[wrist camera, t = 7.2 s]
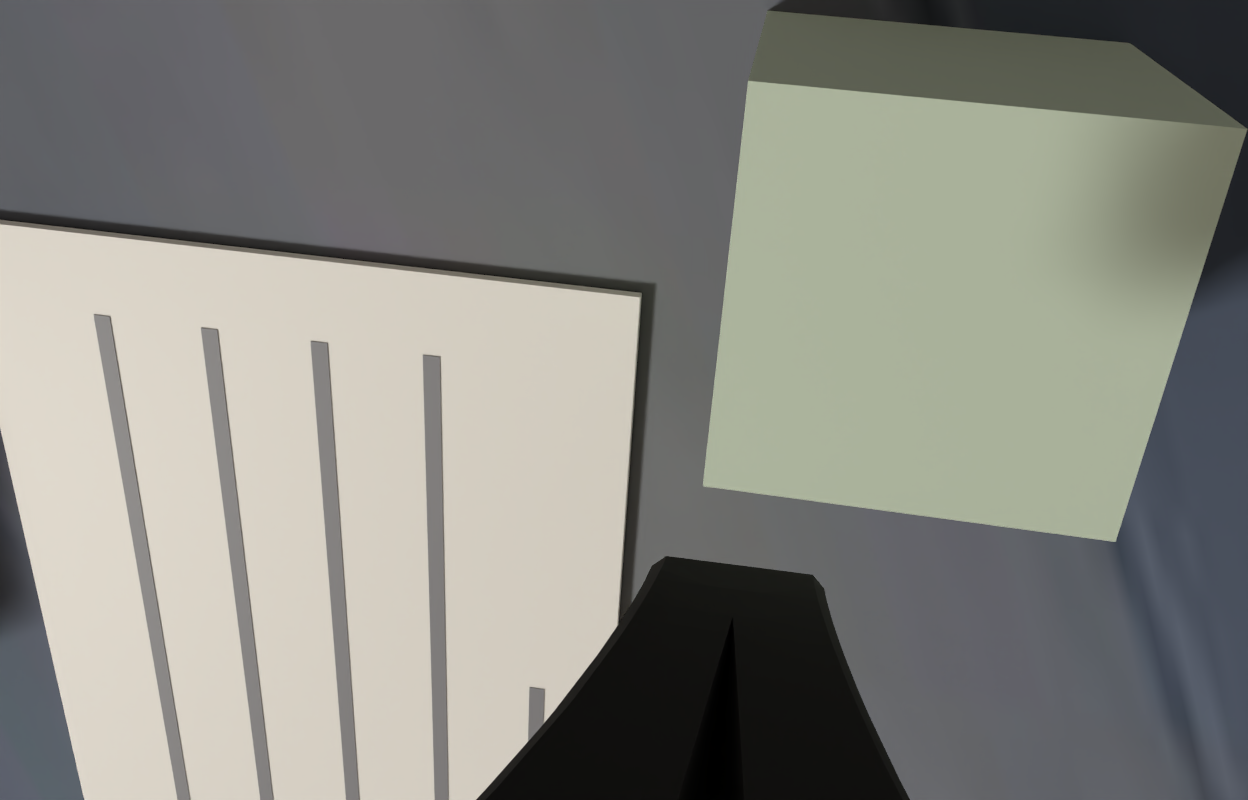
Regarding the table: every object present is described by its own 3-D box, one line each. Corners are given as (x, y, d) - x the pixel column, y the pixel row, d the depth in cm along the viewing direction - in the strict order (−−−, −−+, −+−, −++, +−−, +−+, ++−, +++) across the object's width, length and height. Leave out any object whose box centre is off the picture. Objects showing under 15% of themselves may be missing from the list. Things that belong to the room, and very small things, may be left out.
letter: (641, 293, 18) (639, 297, 18) (595, 943, 26) (593, 952, 26) (-40, 214, 20) (-48, 218, 20) (102, 855, 27) (98, 863, 27)
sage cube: (1127, 41, 16) (1248, 129, 11) (1043, 365, 18) (1115, 542, 14) (767, 9, 16) (748, 80, 12) (730, 327, 19) (703, 486, 14)
